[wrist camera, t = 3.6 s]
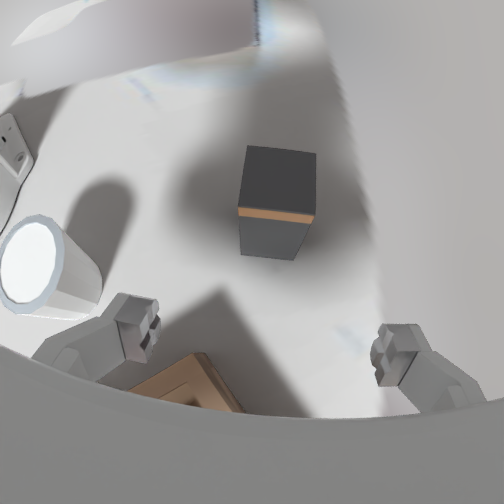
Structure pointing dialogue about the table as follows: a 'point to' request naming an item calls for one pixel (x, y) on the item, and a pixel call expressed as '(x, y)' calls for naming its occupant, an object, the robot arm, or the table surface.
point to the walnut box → (191, 385)
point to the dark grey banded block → (276, 201)
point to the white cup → (47, 272)
